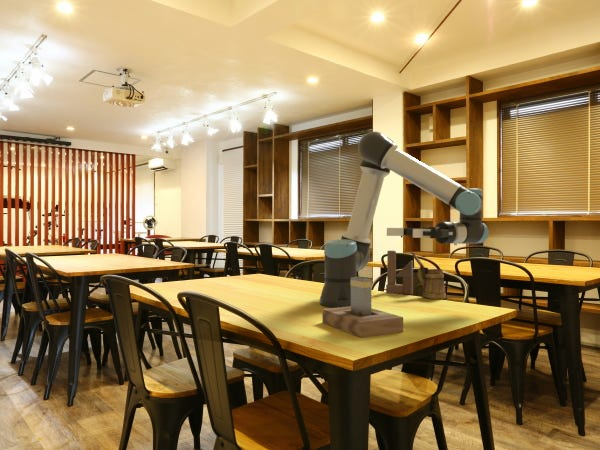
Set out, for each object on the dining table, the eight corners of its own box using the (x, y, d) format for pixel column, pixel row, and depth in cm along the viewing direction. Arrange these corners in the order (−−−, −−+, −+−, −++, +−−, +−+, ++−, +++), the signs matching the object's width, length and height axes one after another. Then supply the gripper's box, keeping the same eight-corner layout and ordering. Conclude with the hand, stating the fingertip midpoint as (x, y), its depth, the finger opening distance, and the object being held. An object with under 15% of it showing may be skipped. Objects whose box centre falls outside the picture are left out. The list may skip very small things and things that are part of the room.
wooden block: (411, 294, 190) (411, 251, 190) (386, 293, 194) (386, 250, 194) (413, 293, 193) (413, 251, 193) (388, 291, 198) (388, 250, 198)
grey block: (350, 325, 133) (350, 277, 133) (359, 324, 134) (359, 276, 134) (362, 329, 128) (362, 279, 127) (371, 328, 129) (371, 279, 129)
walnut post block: (322, 322, 137) (322, 309, 137) (361, 318, 143) (361, 305, 143) (360, 337, 119) (360, 322, 119) (403, 331, 125) (403, 317, 125)
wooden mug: (412, 294, 190) (412, 251, 190) (446, 296, 186) (446, 252, 186) (410, 298, 182) (410, 252, 182) (446, 299, 177) (446, 253, 177)
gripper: (477, 245, 147) (425, 246, 138) (424, 241, 169) (377, 241, 160) (478, 222, 147) (426, 221, 138) (425, 221, 169) (377, 220, 160)
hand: (399, 232), depth 149 cm, fingers open, 13 cm apart
